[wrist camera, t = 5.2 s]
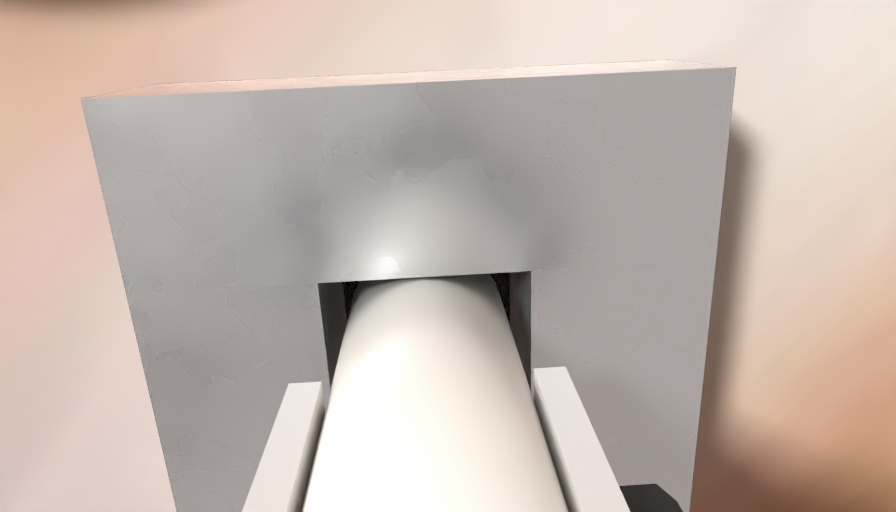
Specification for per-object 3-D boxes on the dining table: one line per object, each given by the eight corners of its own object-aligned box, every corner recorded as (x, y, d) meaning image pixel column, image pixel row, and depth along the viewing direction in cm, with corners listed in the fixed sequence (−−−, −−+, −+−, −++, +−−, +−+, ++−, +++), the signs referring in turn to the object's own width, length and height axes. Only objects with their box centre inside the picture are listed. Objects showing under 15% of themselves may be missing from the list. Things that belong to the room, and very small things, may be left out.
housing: (235, 504, 25) (197, 602, 21) (154, 84, 19) (80, 98, 15) (638, 478, 25) (683, 568, 21) (668, 59, 20) (736, 66, 16)
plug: (358, 385, 22) (248, 1046, 8) (343, 247, 20) (169, 766, 6) (502, 376, 22) (662, 1008, 8) (500, 239, 20) (698, 724, 6)
